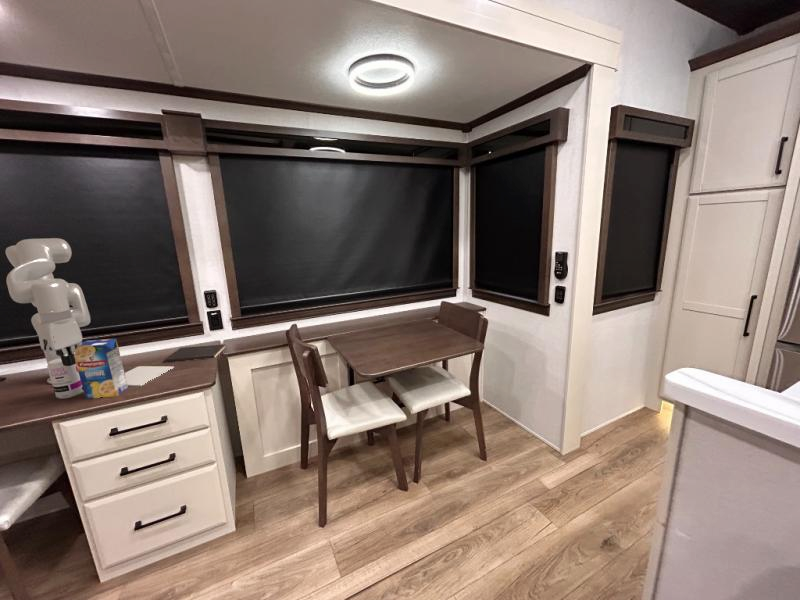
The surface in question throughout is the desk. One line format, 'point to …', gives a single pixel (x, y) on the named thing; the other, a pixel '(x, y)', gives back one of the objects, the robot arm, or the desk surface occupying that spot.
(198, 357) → the hardcover book
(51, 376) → the supplement can
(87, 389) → the beverage box
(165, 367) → the mat
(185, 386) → the desk surface
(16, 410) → the desk surface
